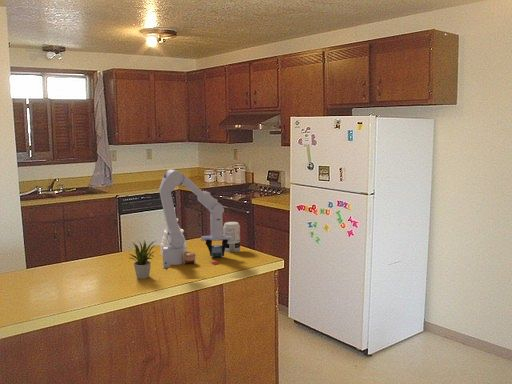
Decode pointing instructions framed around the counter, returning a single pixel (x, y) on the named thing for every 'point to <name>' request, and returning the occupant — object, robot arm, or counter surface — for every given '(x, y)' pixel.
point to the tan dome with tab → (189, 258)
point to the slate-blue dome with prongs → (217, 250)
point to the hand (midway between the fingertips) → (217, 255)
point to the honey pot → (165, 242)
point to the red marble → (214, 262)
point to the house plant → (142, 260)
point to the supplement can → (233, 231)
